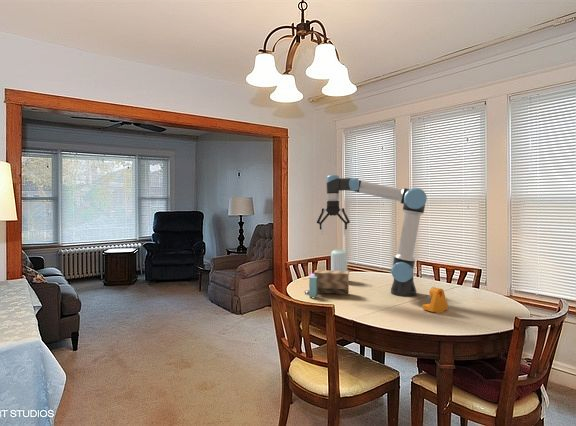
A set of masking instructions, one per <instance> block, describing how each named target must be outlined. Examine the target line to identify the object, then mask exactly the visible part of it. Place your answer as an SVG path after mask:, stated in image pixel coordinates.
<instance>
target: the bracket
mask: <svg viewBox="0 0 576 426" xmlns="http://www.w3.org/2000/svg"><path fill="white" fill-rule="evenodd" d="M429 296H430V297H431V299H430V303H425V304H422V310H426V311H429V312H431V313H436V314H438V313H442V312H445V310H448V303H447V297H446V295H445V290H444V289H443V288H439V287H435V286H432V287H431V288H430V289H429Z"/></svg>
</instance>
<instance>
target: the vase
mask: <svg viewBox="0 0 576 426" xmlns="http://www.w3.org/2000/svg"><path fill="white" fill-rule="evenodd" d="M330 271H348V252H347V251H346V250H344V249H333V250H331V253H330Z"/></svg>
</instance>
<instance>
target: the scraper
mask: <svg viewBox="0 0 576 426" xmlns="http://www.w3.org/2000/svg"><path fill="white" fill-rule="evenodd" d="M308 278H309V280H308V286H309V295H308V296H309V297H317V298H318V293H317V277H314V276H310V275H309V277H308ZM309 297H308V298H309Z"/></svg>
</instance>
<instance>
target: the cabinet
mask: <svg viewBox="0 0 576 426" xmlns="http://www.w3.org/2000/svg"><path fill="white" fill-rule="evenodd" d="M313 274H314V277H317V294H323V293H338V294H337V295H344V294H348V293H349V289H350V288H349V285H350V284H349V282H350V281H349V276H350V271H349V270H347V271H331V270H327V269H326V270H325V269H324V270H323V269H322V270H319V269H316V270H314V272H313ZM348 295H349V294H348Z"/></svg>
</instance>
